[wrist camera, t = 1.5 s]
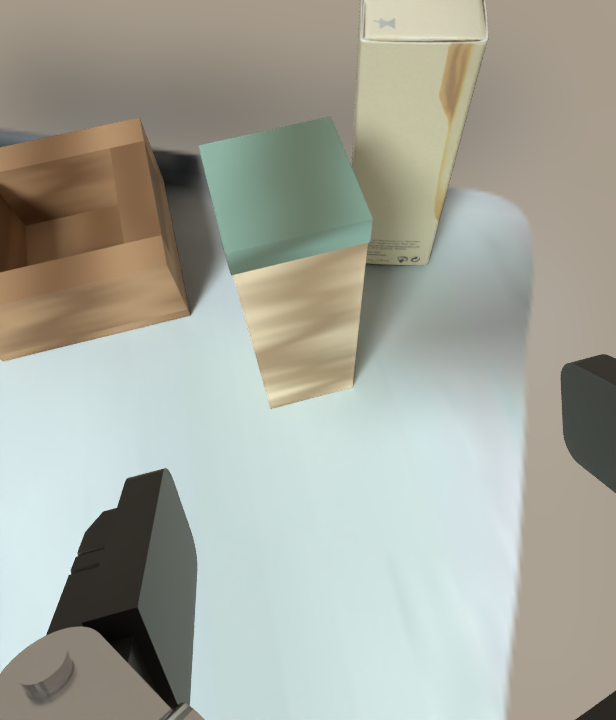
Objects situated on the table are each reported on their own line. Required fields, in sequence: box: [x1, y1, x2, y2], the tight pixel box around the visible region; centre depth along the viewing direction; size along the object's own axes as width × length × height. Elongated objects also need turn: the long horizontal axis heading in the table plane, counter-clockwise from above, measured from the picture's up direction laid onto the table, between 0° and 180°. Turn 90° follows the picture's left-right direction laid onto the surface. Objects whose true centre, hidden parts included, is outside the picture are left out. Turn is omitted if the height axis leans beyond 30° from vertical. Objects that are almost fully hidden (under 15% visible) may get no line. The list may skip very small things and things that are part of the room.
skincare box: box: [352, 0, 488, 265], centre depth 24 cm, size 6×4×12 cm
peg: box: [199, 117, 373, 409], centre depth 21 cm, size 4×4×12 cm
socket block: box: [0, 118, 190, 361], centre depth 27 cm, size 10×10×4 cm
